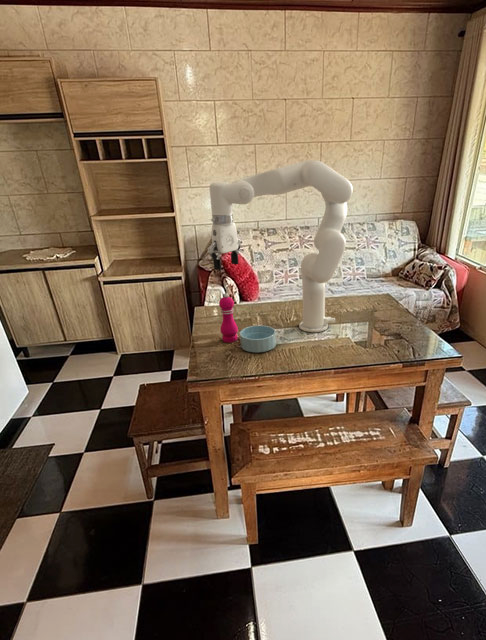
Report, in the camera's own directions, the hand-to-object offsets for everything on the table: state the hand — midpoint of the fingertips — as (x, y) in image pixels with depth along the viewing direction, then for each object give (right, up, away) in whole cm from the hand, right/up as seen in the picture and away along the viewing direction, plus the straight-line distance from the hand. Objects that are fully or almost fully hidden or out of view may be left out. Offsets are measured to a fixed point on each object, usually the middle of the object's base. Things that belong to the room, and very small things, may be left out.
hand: (226, 266), depth 156 cm
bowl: (+12, -30, +8) cm, 33 cm away
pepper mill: (0, -27, +14) cm, 31 cm away
